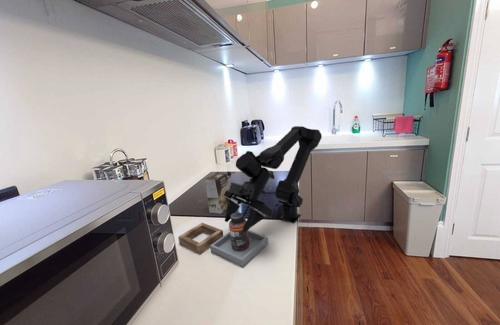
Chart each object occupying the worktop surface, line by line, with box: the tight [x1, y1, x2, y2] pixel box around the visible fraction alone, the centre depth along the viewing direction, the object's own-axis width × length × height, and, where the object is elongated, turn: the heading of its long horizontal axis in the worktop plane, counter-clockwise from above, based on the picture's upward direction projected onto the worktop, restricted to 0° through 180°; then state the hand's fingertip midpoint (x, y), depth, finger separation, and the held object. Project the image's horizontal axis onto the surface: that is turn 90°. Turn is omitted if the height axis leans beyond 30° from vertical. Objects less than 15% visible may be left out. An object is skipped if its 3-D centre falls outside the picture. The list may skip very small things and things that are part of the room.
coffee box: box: [204, 172, 230, 214], centre depth 103 cm, size 9×6×16 cm
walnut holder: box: [178, 222, 224, 255], centre depth 81 cm, size 11×11×3 cm
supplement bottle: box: [228, 212, 249, 251], centre depth 74 cm, size 6×6×11 cm
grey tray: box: [209, 230, 269, 268], centre depth 75 cm, size 14×14×2 cm
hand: (234, 226), depth 72 cm, fingers open, 9 cm apart
